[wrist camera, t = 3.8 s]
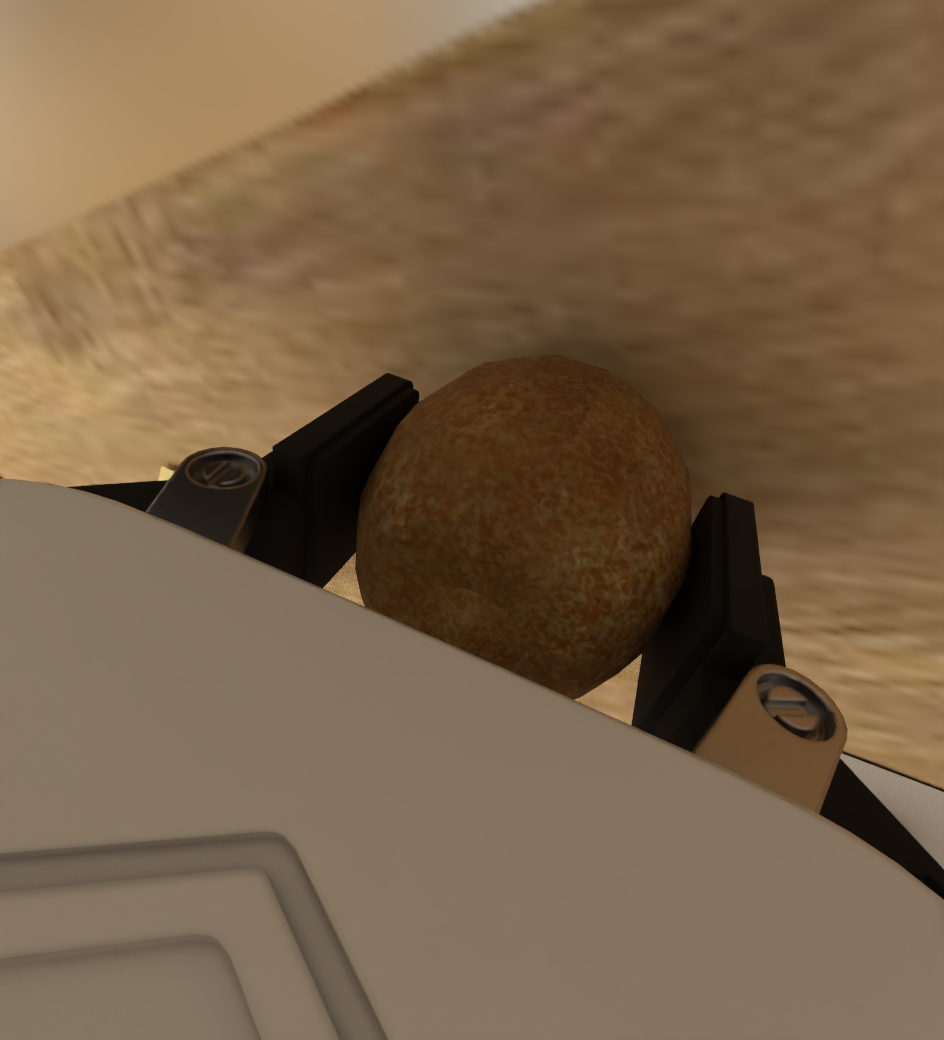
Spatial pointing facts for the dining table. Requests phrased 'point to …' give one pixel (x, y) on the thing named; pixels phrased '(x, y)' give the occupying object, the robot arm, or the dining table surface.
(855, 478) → the dining table surface
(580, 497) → the fruit
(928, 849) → the stacked layers on plate
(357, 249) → the dining table surface
